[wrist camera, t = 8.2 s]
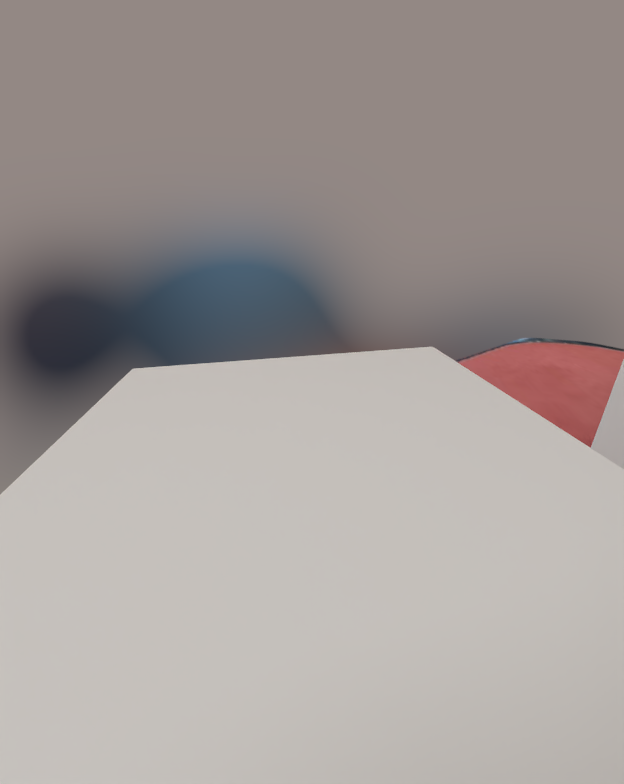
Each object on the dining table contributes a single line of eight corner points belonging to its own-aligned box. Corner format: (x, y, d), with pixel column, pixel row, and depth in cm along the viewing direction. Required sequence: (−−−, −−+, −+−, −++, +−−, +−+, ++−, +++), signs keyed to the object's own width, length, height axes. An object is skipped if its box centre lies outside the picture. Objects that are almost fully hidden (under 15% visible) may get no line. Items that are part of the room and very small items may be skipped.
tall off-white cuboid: (404, 582, 15) (432, 346, 10) (566, 986, 7) (1009, 717, 2) (200, 611, 14) (133, 368, 10) (109, 1110, 6) (-614, 1078, 1)
